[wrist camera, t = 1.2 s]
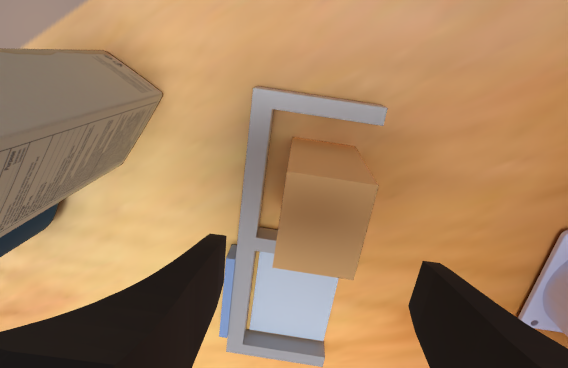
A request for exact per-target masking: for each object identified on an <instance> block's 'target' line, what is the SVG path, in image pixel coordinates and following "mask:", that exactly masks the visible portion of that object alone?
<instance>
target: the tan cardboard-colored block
mask: <svg viewBox="0 0 568 368" xmlns="http://www.w3.org/2000/svg"><path fill="white" fill-rule="evenodd" d="M378 186H379V185H378V184H377V182H376V180H375V179H374V177H373V175H372V174H371V172H370V170H369V169H368V167H367V165H366V164H365V162H364V160H363V159H362V157H361V155H360V154H359V152H358V150H357V149H356V147H355V146H349V145H343V144H336V143H330V142H323V141H317V140H310V139H303V138H297V137H293V139H292V144H291V150H290V156H289V162H288V168H287V174H286V181H285V187H284V194H283V200H282V207H281V214H280V220H279V227H278V233H277V240H276V246H275V253H274V260H273V266H272V268H278V269H284V270H290V271H297V272H303V273H309V274H316V275H322V276H329V277H335V278H341V279H348V280H354V277H355V273H356V269H357V265H358V262H359V258H360V254H361V250H362V247H363V243H364V239H365V235H366V232H367V228H368V224H369V220H370V216H371V213H372V209H373V205H374V201H375V198H376V194H377V190H378Z"/></svg>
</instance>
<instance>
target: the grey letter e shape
mask: <svg viewBox="0 0 568 368" xmlns="http://www.w3.org/2000/svg"><path fill="white" fill-rule="evenodd" d="M274 109H275V110H282V111H288V112H295V113H302V114H308V115H315V116H321V117H328V118H334V119H341V120H348V121H354V122H361V123H367V124H374V125H380V126H383V125H384V121H385V117H386V113H387V109H388V108H386V107H384V106H383V105H378V104H372V103H365V102H359V101H352V100H346V99H339V98H332V97H326V96H319V95H313V94H306V93H299V92H293V91H286V90H280V89H273V88H266V87H260V86H256V87H254V88H253V95H252V105H251V115H250V124H249V134H248V144H247V154H246V163H245V173H244V183H243V193H242V203H241V212H240V222H239V232H238V242H237V245H233V244H232V245H231V248H230V250H229V253H228V255H227V258H226V267H225V278H224V289H223V300H222V311H221V322H220V333H219V337H225V338H227V336H228V339H227V349H226V352H232V353H238V354H244V355H250V356H257V357H263V358H269V359H276V360H282V361H288V362H295V363H301V364H307V365H313V366H320V367H323V363H324V359H325V352H324V342H322V341H323V340H324V336H325V332H326V328H327V324H328V320H329V316H330V312H331V307H332V303H333V299H334V295H335V291H336V287H337V283H338V279H339V278H335V277H329V276H322V275H316V274H309V273H303V272H297V271H290V270H284V269H278V268H272V266H273V260H274V253H275V246H276V240H277V233H278V230H275V229H268V228H262V227H259V223H260V216H261V208H262V200H263V192H264V184H265V176H266V169H267V161H268V153H269V145H270V137H271V129H272V121H273V114H274ZM256 251H260V254H259V262H258V269H257V277H256V284H255V292H254V300H253V307H252V315H251V322H250V330H246V325H247V317H248V310H249V302H250V294H251V286H252V278H253V270H254V263H255V255H256ZM253 330H255V331H253ZM259 331H262V332H259ZM265 332H268V333H265ZM272 333H274V334H272ZM278 334H281V335H278ZM284 335H287V336H284ZM291 336H293V337H291ZM297 337H300V338H297ZM303 338H306V339H303ZM310 339H312V340H310ZM316 340H319V341H316Z"/></svg>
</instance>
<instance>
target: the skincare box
mask: <svg viewBox="0 0 568 368" xmlns="http://www.w3.org/2000/svg"><path fill="white" fill-rule="evenodd" d="M162 95H163V94H162V92H161V91H160V90H158V89H157V88H155V87H154V86H153V85H152V84H150V83H149V82H148V81H146V80H145V79H144V78H142V77H141V76H139V75H138V74H137V73H135V72H134V71H133V70H131V69H130V68H129V67H127V66H126V65H124V64H123V63H122V62H120V61H119V60H117V59H116V58H114V57H113V56H111V55H110V54H109V53H107V52H106V51H103V50H53V49H0V237H2V236H4V235H5V234H7V233H9V232H10V231H12V230H13V229H15V228H17V227H18V226H20V225H22V224H23V223H25V222H27V221H28V220H30V219H32V218H33V217H35V216H37V215H38V214H40V213H42V212H43V211H45V210H47V209H48V208H50V207H52V206H53V205H55V204H57V203H58V202H60V201H62V200H63V199H65V198H67V197H68V196H70V195H72V194H73V193H75V192H77V191H78V190H80V189H82V188H83V187H85V186H87V185H88V184H90V183H91V182H93V181H95V180H96V179H98V178H100V177H101V176H103V175H105V174H106V173H108V172H110V171H111V170H113V169H115V168H116V167H118V166H120V165H121V164H122V163H123V162H124V160H125V159H126V157H127V155H128V154H129V152H130V151H131V149H132V148H133V146H134V144H135V143H136V141H137V139H138V138H139V136H140V134H141V133H142V131H143V129H144V127H145V126H146V124H147V122H148V121H149V119H150V117H151V115H152V114H153V112H154V110H155V108H156V107H157V105H158V103H159V101H160V99H161V97H162Z"/></svg>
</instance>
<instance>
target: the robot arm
mask: <svg viewBox="0 0 568 368" xmlns="http://www.w3.org/2000/svg"><path fill="white" fill-rule="evenodd" d="M225 251H226V236H224V235H216V234H209V235H208V236H206V237H205V238H203V239H202V240H201V241H199V242H198V243H197V244H196V245H194V246H193V247H192V248H190V249H189V250H188V251H186V252H185V253H184V254H182V255H181V256H180V257H178V258H177V259H175V260H174V261H173V262H171V263H170V264H168V265H166V266H165V267H163V268H162V269H160V270H159V271H157V272H156V273H154V274H152V275H151V276H149V277H147V278H145V279H144V280H142V281H140V282H138V283H136V284H134V285H132V286H130V287H128V288H126V289H124V290H122V291H120V292H118V293H115V294H113V295H111V296H108V297H106V298H104V299H101V300H99V301H97V302H95V303H92V304H89V305H87V306H84V307H81V308H79V309H76V310H73V311H70V312H67V313H64V314H61V315H58V316H55V317H52V318H49V319H46V320H42V321H39V322H35V323H31V324H28V325H24V326H21V327H17V328H13V329H10V330H6V331H2V332H0V368H192V366H193V363H194V361H195V358H196V356H197V354H198V351H199V349H200V346H201V344H202V342H203V339H204V337H205V334H206V332H207V330H208V327H209V325H210V322H211V320H212V317H213V315H214V312H215V310H216V307H217V304H218V301H219V297H220V294H221V290H222V286H223V282H224V268H225ZM409 310H410V314H411V318H412V322H413V325H414V329H415V332H416V335H417V337H418V340H419V342H420V345H421V347H422V350H423V352H424V355H425V357H426V359H427V362H428V364H429V366H430V368H568V349H567V348H566V347H564V346H562V345H560V344H559V343H557V342H555V341H554V340H552V339H550V338H549V337H547V336H545V335H544V334H542V333H540V332H539V331H537V330H535V329H534V328H537V329H543V330H549V331H556V332H562V333H564V334H565V335H566V336H567V337H568V230H566V231H564V232H562V233H561V235H560V236H559V238H558V240H557V242H556V244H555V246H554V248H553V250H552V252H551V254H550V256H549V258H548V260H547V262H546V264H545V266H544V268H543V269H542V271H541V273H540V275H539V277H538V279H537V281H536V283H535V285H534V287H533V289H532V291H531V293H530V295H529V297H528V299H527V301H526V303H525V305H524V307H523V309H522V310H521V312H520V314H519V316H518V318H517V317H515V316H514V315H512V314H511V313H509V312H508V311H506V310H505V309H504V308H502V307H501V306H499V305H498V304H496V303H495V302H494V301H492V300H491V299H490V298H488V297H487V296H485V295H484V294H483V293H481V292H480V291H479V290H477V289H476V288H475V287H473V286H472V285H470V284H469V283H468V282H466V281H465V280H464V279H462V278H461V277H460V276H458V275H457V274H455V273H454V272H453V271H451V270H450V269H448V268H447V267H445V266H444V265H442V264H440V263H434V262H427V261H423V262H422V265H421V268H420V272H419V275H418V278H417V281H416V284H415V287H414V290H413V293H412V296H411V299H410V303H409ZM533 320H534V321H533Z"/></svg>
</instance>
